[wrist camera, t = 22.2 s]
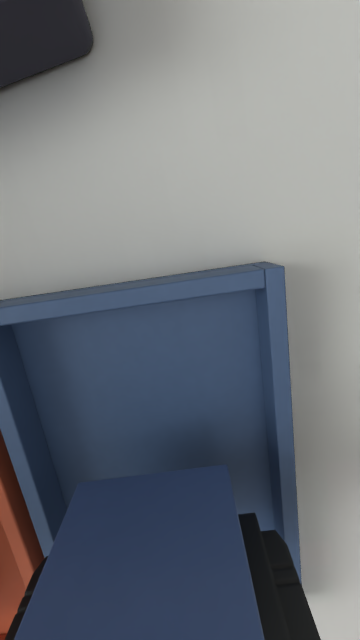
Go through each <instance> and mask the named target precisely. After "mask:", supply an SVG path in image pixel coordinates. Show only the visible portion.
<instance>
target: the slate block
mask: <svg viewBox="0 0 360 640" xmlns="http://www.w3.org/2000/svg"><path fill="white" fill-rule="evenodd" d="M14 640H265V639H264V635H263V630H262V625H261V621H260V616H259V611H258V606H257V602H256V597H255V592H254V588H253V583H252V578H251V573H250V569H249V564H248V559H247V555H246V550H245V545H244V540H243V536H242V531H241V526H240V522H239V517H238V512H237V507H236V503H235V498H234V493H233V489H232V484H231V479H230V474H229V470H228V466H227V465H226V464H224V465H216V466H208V467H200V468H192V469H184V470H176V471H168V472H160V473H152V474H144V475H136V476H128V477H120V478H112V479H104V480H96V481H88V482H80V483H78V485H77V487H76V490H75V492H74V495H73V497H72V500H71V502H70V504H69V507H68V509H67V512H66V514H65V517H64V519H63V521H62V524H61V526H60V529H59V531H58V534H57V536H56V538H55V541H54V543H53V546H52V548H51V551H50V553H49V556H48V558H47V560H46V563H45V565H44V568H43V570H42V573H41V575H40V577H39V580H38V582H37V585H36V587H35V590H34V592H33V594H32V597H31V599H30V602H29V604H28V607H27V609H26V611H25V614H24V616H23V619H22V621H21V624H20V626H19V629H18V631H17V633H16V636H15V638H14Z"/></svg>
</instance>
